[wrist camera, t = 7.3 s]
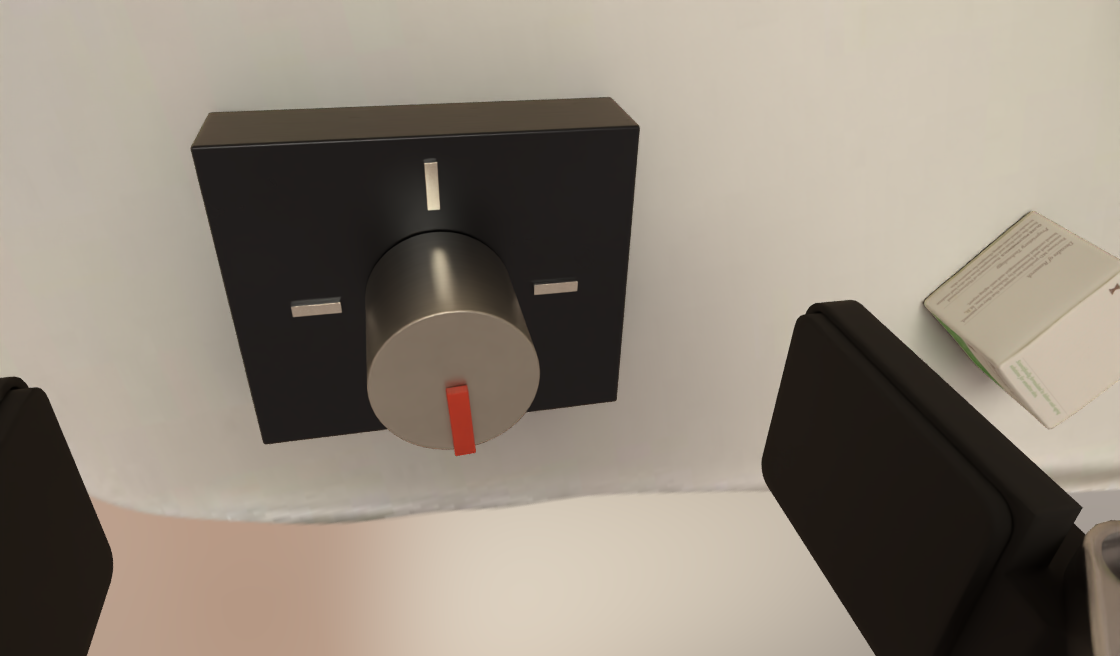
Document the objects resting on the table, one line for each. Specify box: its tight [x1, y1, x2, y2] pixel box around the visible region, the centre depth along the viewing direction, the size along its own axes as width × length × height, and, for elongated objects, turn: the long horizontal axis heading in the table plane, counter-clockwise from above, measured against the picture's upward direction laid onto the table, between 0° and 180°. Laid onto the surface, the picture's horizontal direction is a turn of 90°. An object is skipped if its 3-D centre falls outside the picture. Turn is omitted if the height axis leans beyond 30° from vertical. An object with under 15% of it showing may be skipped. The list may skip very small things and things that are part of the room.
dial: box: [365, 232, 540, 456], centre depth 21 cm, size 4×4×5 cm
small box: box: [924, 211, 1120, 429], centre depth 30 cm, size 6×6×5 cm
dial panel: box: [191, 97, 640, 444], centre depth 24 cm, size 12×10×3 cm
